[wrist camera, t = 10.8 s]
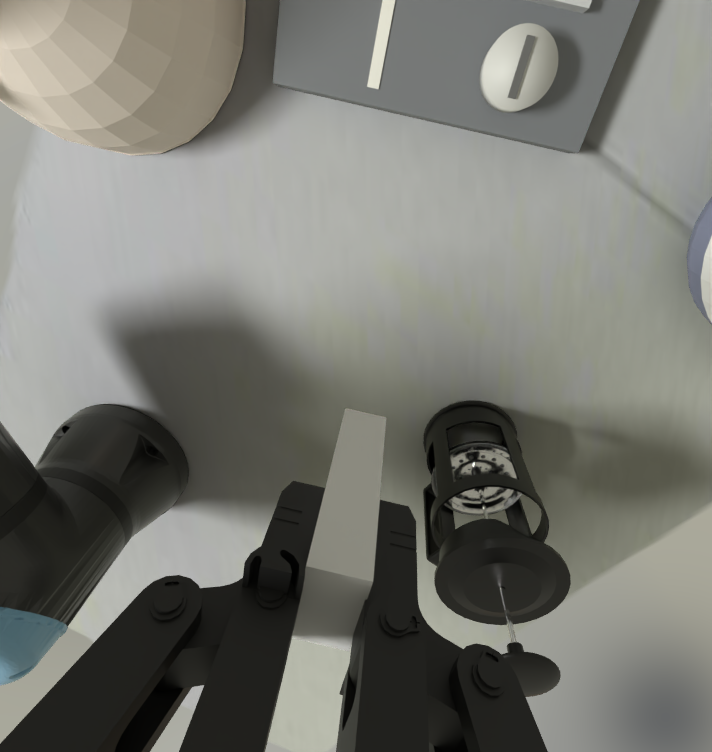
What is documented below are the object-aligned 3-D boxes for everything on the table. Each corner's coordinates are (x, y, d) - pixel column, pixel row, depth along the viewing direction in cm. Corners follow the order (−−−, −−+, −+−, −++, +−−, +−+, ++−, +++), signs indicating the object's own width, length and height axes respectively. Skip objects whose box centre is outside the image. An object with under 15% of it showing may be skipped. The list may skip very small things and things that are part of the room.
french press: (472, 378, 41) (537, 599, 20) (541, 431, 42) (665, 683, 22) (394, 452, 46) (384, 689, 25) (459, 497, 47) (499, 751, 27)
